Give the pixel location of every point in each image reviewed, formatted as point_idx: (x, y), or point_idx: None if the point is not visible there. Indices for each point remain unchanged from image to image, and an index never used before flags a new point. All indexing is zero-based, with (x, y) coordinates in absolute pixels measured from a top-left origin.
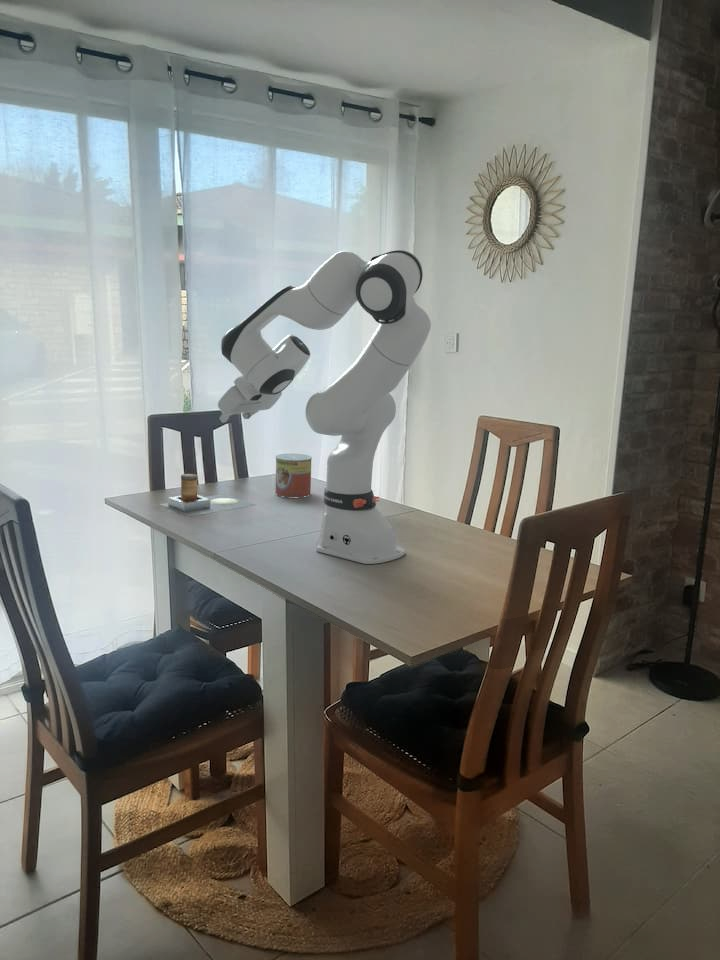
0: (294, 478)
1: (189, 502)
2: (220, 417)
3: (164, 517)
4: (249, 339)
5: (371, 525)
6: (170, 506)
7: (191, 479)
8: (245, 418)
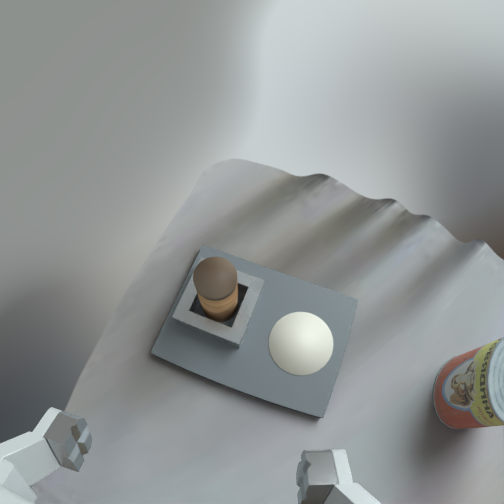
0: (466, 416)
1: (187, 321)
2: (47, 415)
3: (152, 296)
4: None
5: None
6: None
7: (201, 295)
8: (296, 476)
